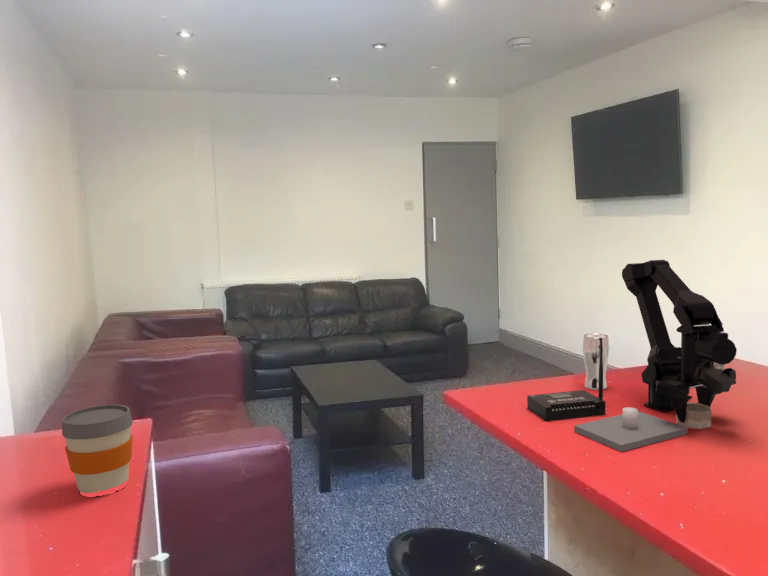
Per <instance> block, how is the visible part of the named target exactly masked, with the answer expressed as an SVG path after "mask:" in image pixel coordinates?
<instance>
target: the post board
mask: <svg viewBox="0 0 768 576" xmlns="http://www.w3.org/2000/svg"><path fill="white" fill-rule="evenodd" d="M573 428H574V429H573V430H574V431H573V432H574V433H577V434H579V435H580V436H583V437H586V438H588V439H591V440H593V441H595V442H597V443H599V444H602V445H604V446H607V447H609V448H611V449H613V450H616V451H619V452H621V453H622V452H626V451H631V450H634V449H638V448H642V447H645V446H648V445H653V444H655V443H661V442H663V441H666V440H670V439H674V438H678V437H681V436H686V435H688V428H687V427H684V426H681V425H678V424H677V423H676V422H675V423H674V422H671V421H669V420H666V419H663V418H659V417H657V416H654V415H651V414H648V413H645V412H642V411H639V409H638V408H635V407H623V408H622V413H621V414H618V415H614V416H609V417H604V418H600V419H596V420H592V421H587V422H584V423H579V424H575V425H574V427H573Z"/></svg>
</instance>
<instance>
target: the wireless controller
mask: <svg viewBox="0 0 768 576" xmlns="http://www.w3.org/2000/svg"><path fill="white" fill-rule="evenodd" d="M526 398H527V401H526V403H527V405H526V406H527V409H528V410H529V411H530V412H532V413H533V414H534V415H536V416H537V417H539V418H540V419H541V420H543V421H545V422H554V421H562V420H570V419H579V418H589V417H596V416H597V417H598V415H599V416H605V415H606V401H605V400H604V389H603V361H602V342H600V363H599V390H598V397H597V396H596V395H594V394H593V393H590V392H588V391H586V390H585V389H581V390H568V391H559V392H558V391H557V392H550V393H540V394H530V395H529V394H528V395H526Z"/></svg>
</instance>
